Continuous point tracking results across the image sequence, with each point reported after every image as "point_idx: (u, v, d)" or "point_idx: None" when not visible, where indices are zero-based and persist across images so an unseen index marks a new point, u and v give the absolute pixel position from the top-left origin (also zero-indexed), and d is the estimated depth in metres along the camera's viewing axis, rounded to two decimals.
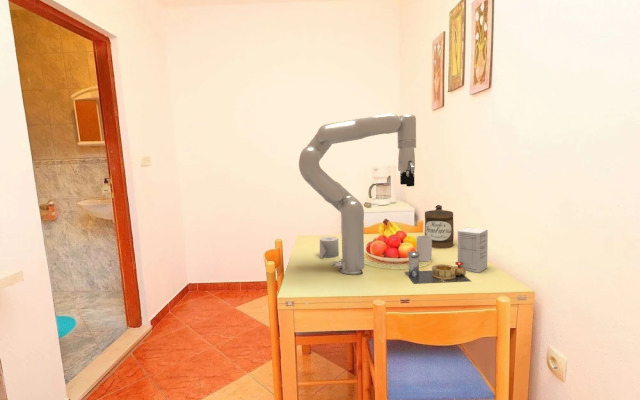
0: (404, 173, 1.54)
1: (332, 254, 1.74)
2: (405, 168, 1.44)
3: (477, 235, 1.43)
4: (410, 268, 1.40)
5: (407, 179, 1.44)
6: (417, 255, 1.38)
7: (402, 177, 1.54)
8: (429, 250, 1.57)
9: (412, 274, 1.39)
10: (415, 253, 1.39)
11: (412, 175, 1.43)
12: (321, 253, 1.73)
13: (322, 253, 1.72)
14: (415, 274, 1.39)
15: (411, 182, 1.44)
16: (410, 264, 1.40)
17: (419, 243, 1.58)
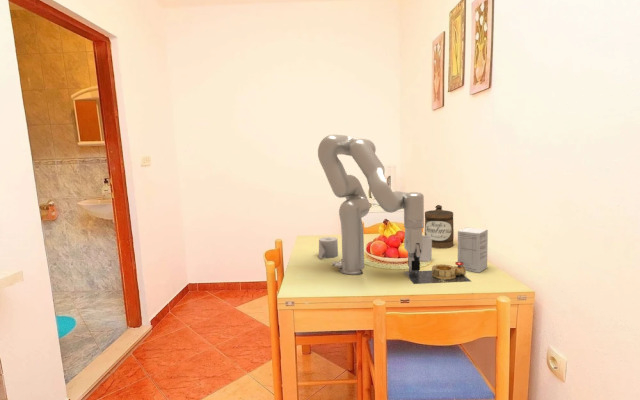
0: None
1: (331, 255, 1.73)
2: (412, 251, 1.35)
3: (477, 235, 1.43)
4: (410, 268, 1.40)
5: (412, 263, 1.38)
6: None
7: None
8: (429, 250, 1.57)
9: (412, 274, 1.39)
10: None
11: (417, 260, 1.37)
12: (320, 253, 1.72)
13: (321, 253, 1.72)
14: (415, 274, 1.39)
15: (416, 267, 1.37)
16: (410, 264, 1.40)
17: None
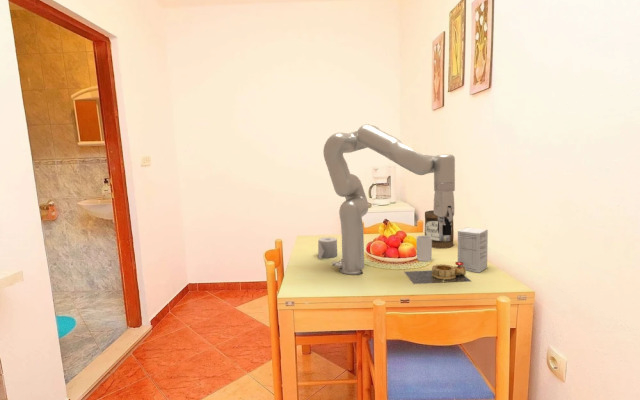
0: None
1: (330, 255, 1.73)
2: (444, 214, 1.30)
3: (477, 235, 1.43)
4: (441, 233, 1.35)
5: (443, 228, 1.33)
6: None
7: None
8: (429, 250, 1.57)
9: (443, 239, 1.35)
10: None
11: (449, 224, 1.32)
12: (320, 254, 1.72)
13: (320, 253, 1.71)
14: (446, 239, 1.35)
15: (448, 231, 1.33)
16: (441, 229, 1.35)
17: (419, 243, 1.58)
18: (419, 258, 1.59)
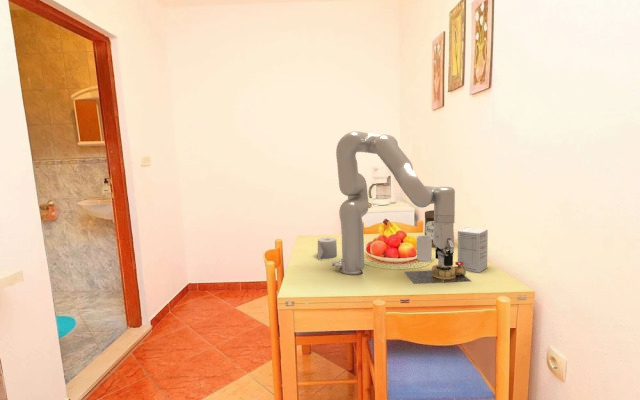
0: None
1: (330, 255, 1.73)
2: (443, 246, 1.32)
3: (477, 235, 1.43)
4: (440, 267, 1.37)
5: (445, 258, 1.33)
6: None
7: None
8: (429, 250, 1.57)
9: None
10: None
11: (451, 255, 1.31)
12: (319, 254, 1.72)
13: (320, 254, 1.71)
14: None
15: (449, 262, 1.32)
16: (440, 263, 1.37)
17: (419, 243, 1.58)
18: (419, 258, 1.59)
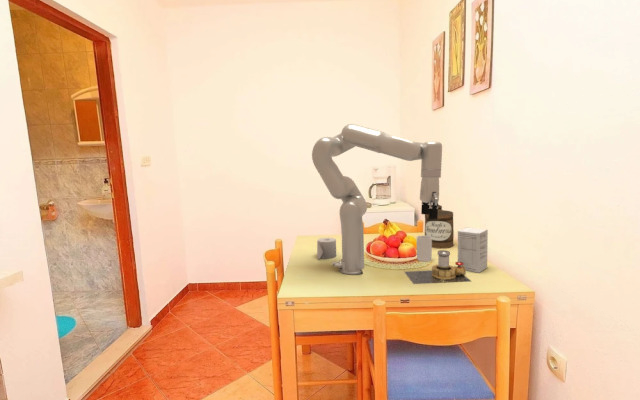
0: (426, 202, 1.44)
1: (329, 255, 1.72)
2: (428, 199, 1.34)
3: (477, 235, 1.43)
4: (440, 267, 1.37)
5: (430, 211, 1.35)
6: (447, 254, 1.35)
7: (423, 206, 1.44)
8: (429, 250, 1.57)
9: None
10: (445, 252, 1.36)
11: (435, 207, 1.33)
12: (318, 254, 1.71)
13: (319, 254, 1.71)
14: None
15: (434, 215, 1.34)
16: (440, 263, 1.37)
17: (419, 243, 1.58)
18: (419, 258, 1.59)
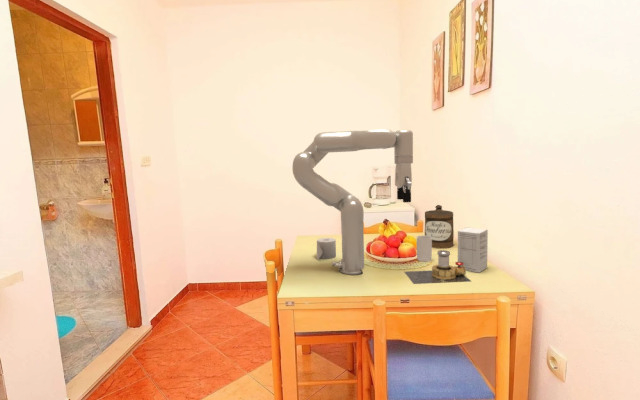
0: (401, 188, 1.53)
1: (329, 255, 1.72)
2: (402, 184, 1.43)
3: (477, 235, 1.43)
4: (440, 267, 1.37)
5: (404, 195, 1.43)
6: (447, 254, 1.35)
7: (399, 192, 1.53)
8: (429, 250, 1.57)
9: None
10: (445, 252, 1.36)
11: (409, 191, 1.42)
12: (318, 254, 1.71)
13: (319, 254, 1.70)
14: None
15: (408, 198, 1.43)
16: (440, 263, 1.37)
17: (419, 243, 1.58)
18: (419, 258, 1.59)
